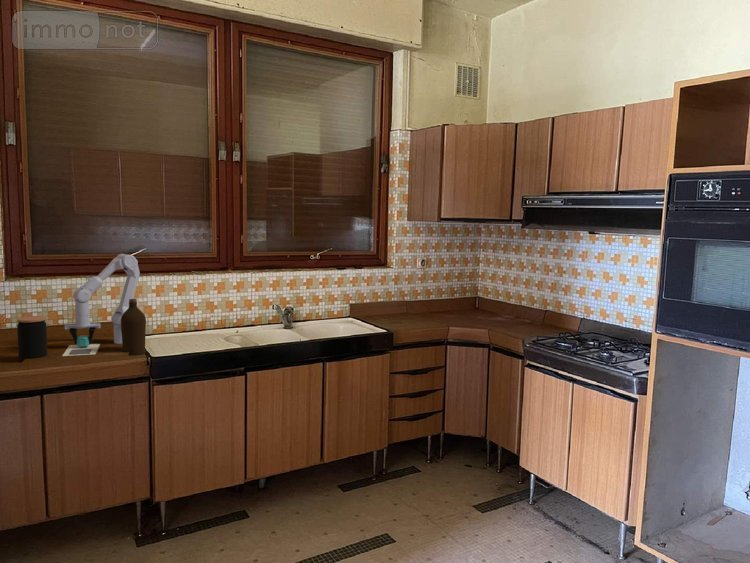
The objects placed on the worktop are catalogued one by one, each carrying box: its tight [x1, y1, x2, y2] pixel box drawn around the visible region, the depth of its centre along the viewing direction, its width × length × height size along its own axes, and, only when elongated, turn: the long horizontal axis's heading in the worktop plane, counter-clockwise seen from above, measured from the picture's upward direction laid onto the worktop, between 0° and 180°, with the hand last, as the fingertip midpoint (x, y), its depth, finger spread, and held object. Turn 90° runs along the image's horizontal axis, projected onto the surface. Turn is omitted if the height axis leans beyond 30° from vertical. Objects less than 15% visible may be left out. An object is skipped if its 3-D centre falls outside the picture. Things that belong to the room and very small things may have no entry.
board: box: [62, 343, 101, 357], centre depth 254 cm, size 13×21×2 cm, turn 21°
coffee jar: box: [16, 315, 49, 363], centre depth 240 cm, size 11×11×18 cm
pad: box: [69, 349, 92, 356], centre depth 249 cm, size 8×8×1 cm
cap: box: [77, 334, 90, 346], centre depth 258 cm, size 5×5×4 cm
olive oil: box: [121, 298, 147, 356], centre depth 255 cm, size 11×11×25 cm
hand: (83, 344), depth 258 cm, fingers closed on cap, 5 cm apart
